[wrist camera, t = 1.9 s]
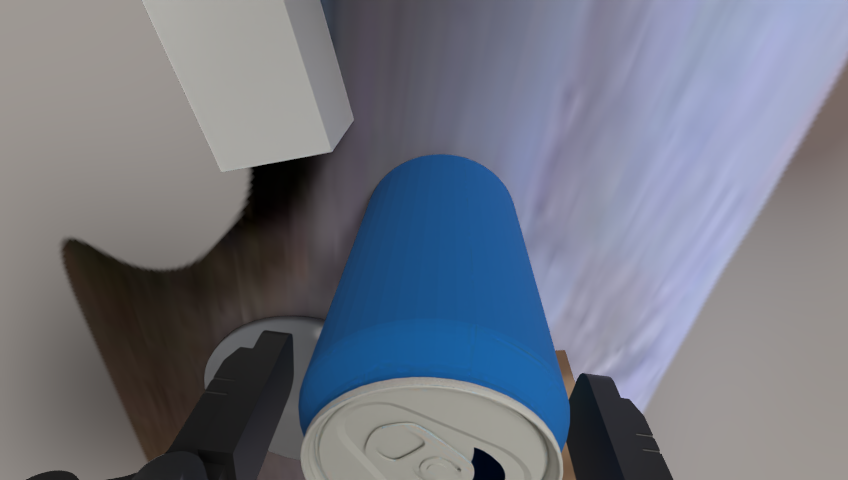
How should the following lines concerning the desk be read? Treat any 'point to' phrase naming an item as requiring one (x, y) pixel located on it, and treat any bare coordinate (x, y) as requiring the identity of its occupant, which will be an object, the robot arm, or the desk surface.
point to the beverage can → (435, 341)
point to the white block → (256, 76)
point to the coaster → (304, 344)
